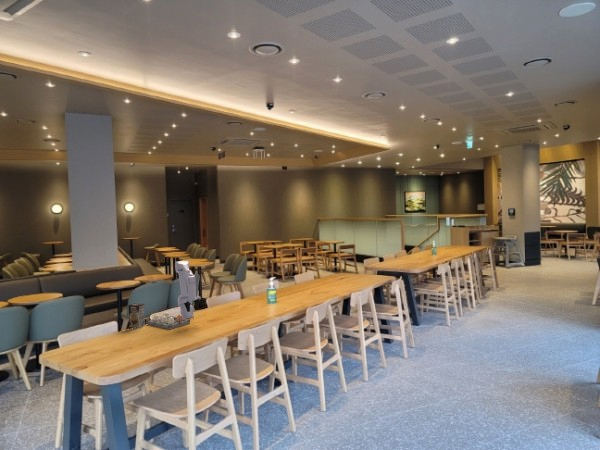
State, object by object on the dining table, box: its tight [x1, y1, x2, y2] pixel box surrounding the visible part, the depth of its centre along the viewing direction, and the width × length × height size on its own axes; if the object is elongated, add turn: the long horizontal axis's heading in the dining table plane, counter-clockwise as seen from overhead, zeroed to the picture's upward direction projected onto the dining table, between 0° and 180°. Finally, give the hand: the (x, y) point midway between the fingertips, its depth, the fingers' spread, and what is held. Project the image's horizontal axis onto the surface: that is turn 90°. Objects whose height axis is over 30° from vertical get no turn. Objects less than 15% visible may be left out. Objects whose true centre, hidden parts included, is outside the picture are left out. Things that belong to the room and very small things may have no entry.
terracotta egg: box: [176, 314, 183, 322], centre depth 303 cm, size 4×4×6 cm
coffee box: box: [128, 302, 146, 329], centre depth 300 cm, size 9×6×16 cm
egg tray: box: [146, 311, 191, 330], centre depth 304 cm, size 18×26×7 cm
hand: (192, 310), depth 304 cm, fingers open, 7 cm apart
